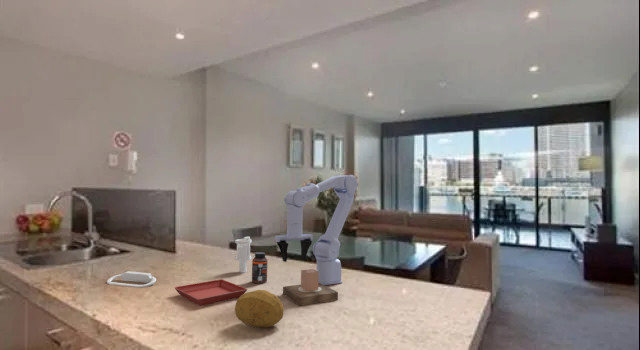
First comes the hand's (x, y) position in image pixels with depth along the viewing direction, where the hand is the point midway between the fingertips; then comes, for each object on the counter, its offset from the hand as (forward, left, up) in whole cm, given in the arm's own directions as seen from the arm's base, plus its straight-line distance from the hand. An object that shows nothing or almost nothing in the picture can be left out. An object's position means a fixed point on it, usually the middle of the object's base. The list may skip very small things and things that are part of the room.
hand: (294, 260), depth 135 cm
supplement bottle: (+8, -15, -11) cm, 20 cm away
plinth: (-1, +11, -10) cm, 15 cm away
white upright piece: (+9, -34, -11) cm, 37 cm away
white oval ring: (+52, -34, -11) cm, 63 cm away
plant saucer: (+29, -4, -11) cm, 31 cm away
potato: (+23, +28, -11) cm, 38 cm away
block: (-1, +11, -8) cm, 13 cm away
